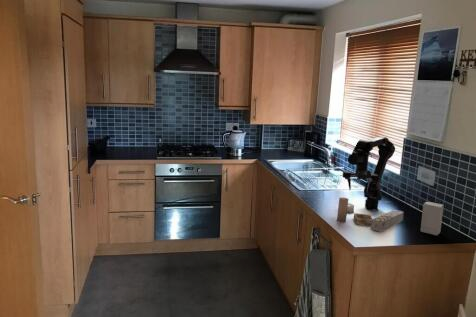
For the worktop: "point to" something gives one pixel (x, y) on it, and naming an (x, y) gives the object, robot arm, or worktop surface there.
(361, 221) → the tray
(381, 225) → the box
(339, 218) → the brown dome-top cylinder
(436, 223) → the skincare box
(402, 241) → the worktop surface
